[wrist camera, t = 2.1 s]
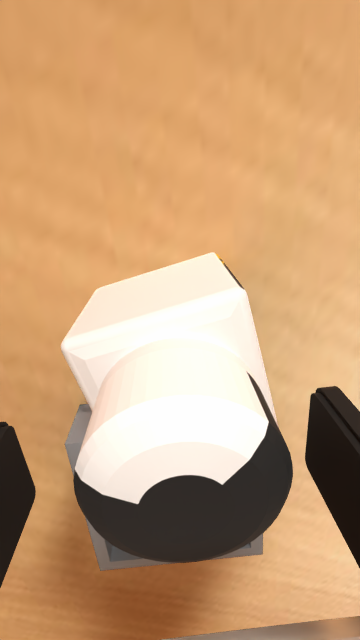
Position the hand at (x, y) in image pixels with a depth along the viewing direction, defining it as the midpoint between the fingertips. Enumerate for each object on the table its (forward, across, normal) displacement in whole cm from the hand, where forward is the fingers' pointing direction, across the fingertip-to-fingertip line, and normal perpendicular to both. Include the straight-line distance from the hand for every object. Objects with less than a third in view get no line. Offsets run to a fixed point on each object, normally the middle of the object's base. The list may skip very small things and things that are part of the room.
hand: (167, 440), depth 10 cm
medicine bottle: (+10, -1, 0) cm, 10 cm away
